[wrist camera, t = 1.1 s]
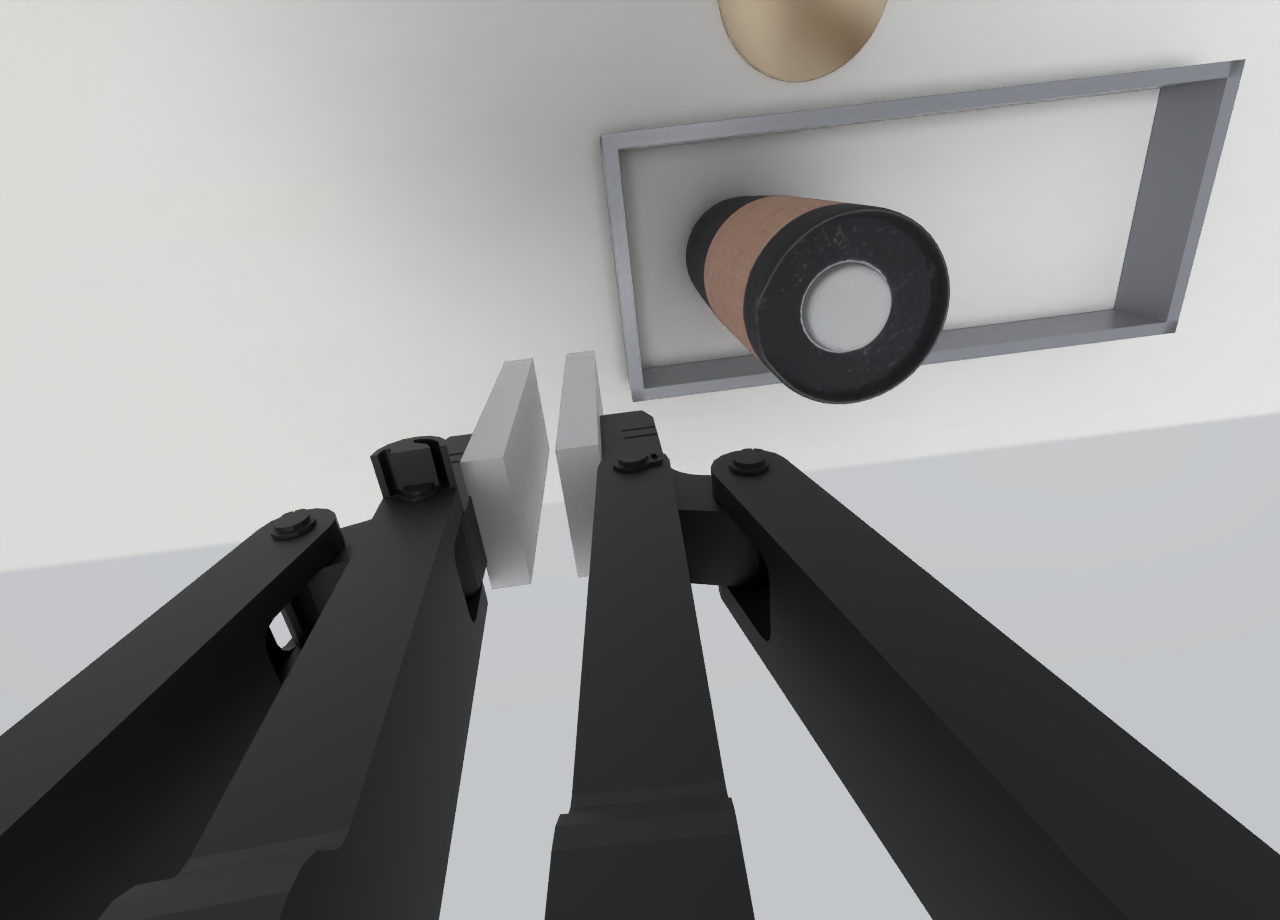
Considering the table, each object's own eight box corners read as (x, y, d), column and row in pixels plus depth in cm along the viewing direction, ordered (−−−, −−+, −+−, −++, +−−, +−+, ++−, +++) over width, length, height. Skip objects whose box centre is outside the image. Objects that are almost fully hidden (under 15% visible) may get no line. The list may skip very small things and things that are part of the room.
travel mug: (817, 237, 41) (996, 283, 23) (747, 332, 44) (860, 441, 26) (727, 166, 39) (848, 156, 21) (659, 270, 42) (715, 342, 23)
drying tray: (628, 381, 45) (633, 401, 41) (599, 139, 38) (601, 134, 34) (1122, 318, 46) (1174, 332, 41) (1176, 71, 39) (1245, 59, 35)
